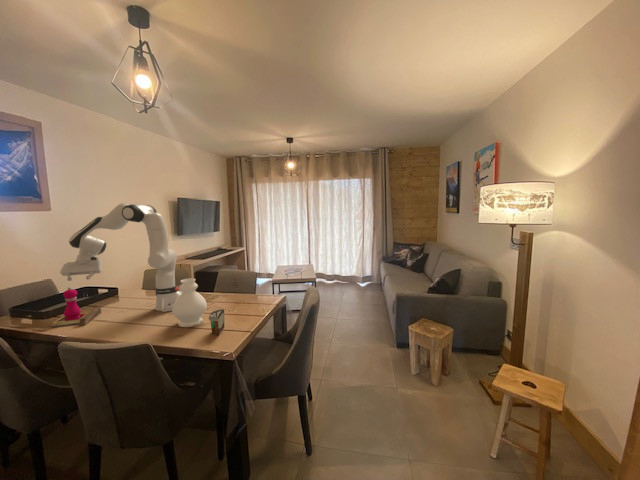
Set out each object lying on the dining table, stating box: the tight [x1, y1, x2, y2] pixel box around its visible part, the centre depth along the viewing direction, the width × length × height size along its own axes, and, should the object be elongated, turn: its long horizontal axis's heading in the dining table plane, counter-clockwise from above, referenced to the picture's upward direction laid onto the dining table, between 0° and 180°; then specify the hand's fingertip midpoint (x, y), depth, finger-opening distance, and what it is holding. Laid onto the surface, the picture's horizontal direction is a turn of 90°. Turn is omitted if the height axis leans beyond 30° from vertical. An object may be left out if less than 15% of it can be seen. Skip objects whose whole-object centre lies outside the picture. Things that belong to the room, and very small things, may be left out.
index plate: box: [51, 311, 90, 328], centre depth 154 cm, size 13×13×2 cm
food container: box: [208, 308, 225, 336], centre depth 137 cm, size 12×6×10 cm, turn 5°
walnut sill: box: [79, 306, 102, 327], centre depth 157 cm, size 2×20×4 cm, turn 20°
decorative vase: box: [171, 277, 208, 328], centre depth 148 cm, size 18×18×25 cm
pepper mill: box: [63, 286, 82, 321], centre depth 153 cm, size 7×7×20 cm
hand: (78, 279), depth 162 cm, fingers open, 8 cm apart
